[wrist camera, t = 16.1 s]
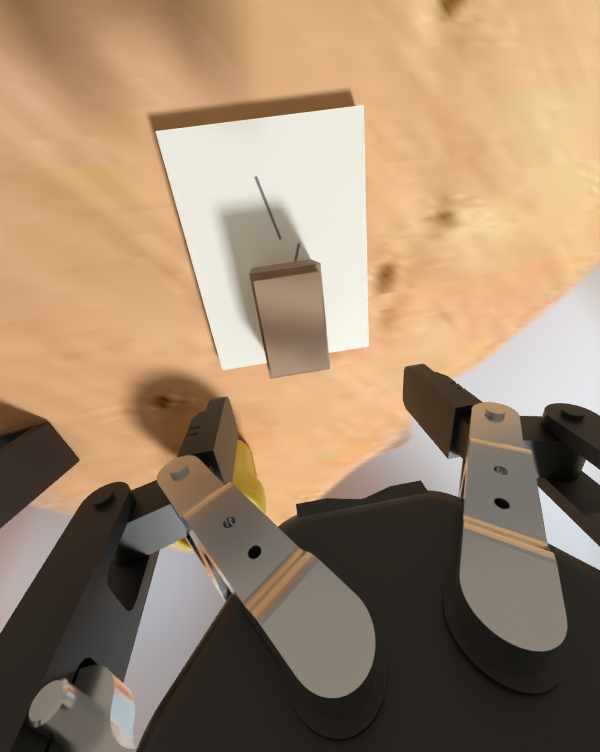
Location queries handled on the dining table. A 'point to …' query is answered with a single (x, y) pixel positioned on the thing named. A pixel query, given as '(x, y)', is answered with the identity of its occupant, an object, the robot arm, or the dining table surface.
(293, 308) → the block
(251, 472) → the plant pot
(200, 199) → the board
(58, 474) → the phone stand
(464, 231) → the dining table surface
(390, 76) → the dining table surface
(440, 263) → the dining table surface
